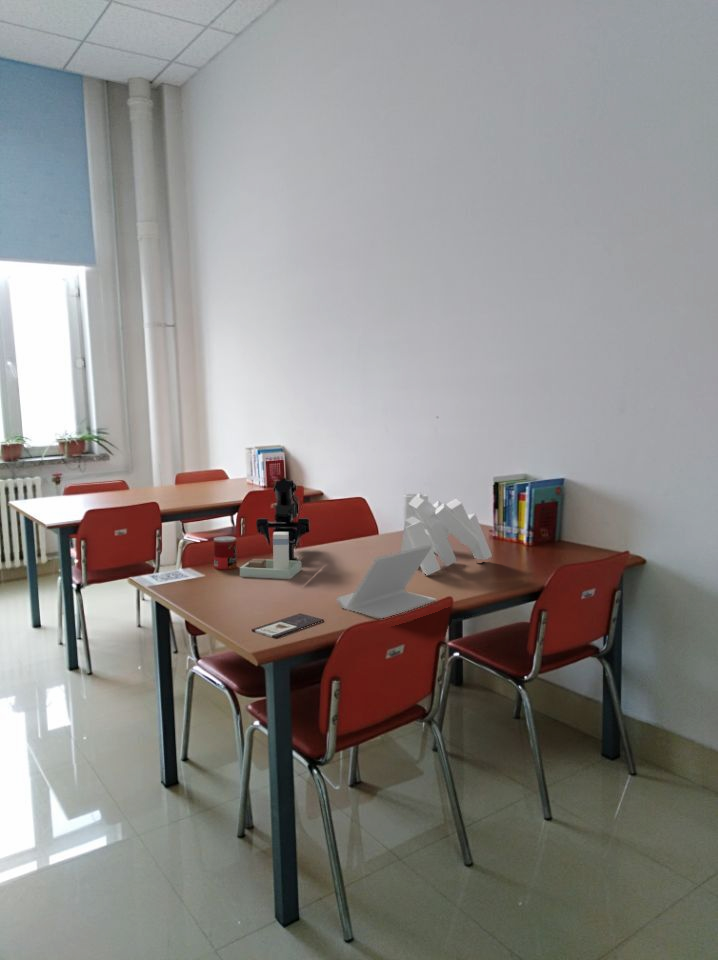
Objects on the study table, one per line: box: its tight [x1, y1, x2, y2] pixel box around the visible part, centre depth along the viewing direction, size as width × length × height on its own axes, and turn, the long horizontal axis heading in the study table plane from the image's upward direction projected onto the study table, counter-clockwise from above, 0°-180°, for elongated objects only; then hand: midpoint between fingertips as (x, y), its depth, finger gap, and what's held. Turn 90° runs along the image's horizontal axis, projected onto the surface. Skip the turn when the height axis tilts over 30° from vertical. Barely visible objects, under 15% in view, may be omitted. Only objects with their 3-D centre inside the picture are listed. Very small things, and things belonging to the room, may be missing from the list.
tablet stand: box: [336, 545, 437, 619], centre depth 209 cm, size 18×25×17 cm
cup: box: [402, 493, 429, 529], centre depth 287 cm, size 10×10×22 cm
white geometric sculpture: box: [400, 492, 493, 576], centre depth 254 cm, size 35×30×35 cm
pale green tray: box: [239, 558, 302, 580], centre depth 245 cm, size 14×18×4 cm
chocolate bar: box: [251, 613, 325, 639], centre depth 189 cm, size 9×1×18 cm
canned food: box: [213, 535, 238, 571], centre depth 252 cm, size 8×8×11 cm
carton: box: [272, 532, 289, 569], centre depth 243 cm, size 5×5×14 cm
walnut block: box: [248, 558, 267, 568], centre depth 246 cm, size 5×4×4 cm
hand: (282, 545), depth 250 cm, fingers open, 9 cm apart
